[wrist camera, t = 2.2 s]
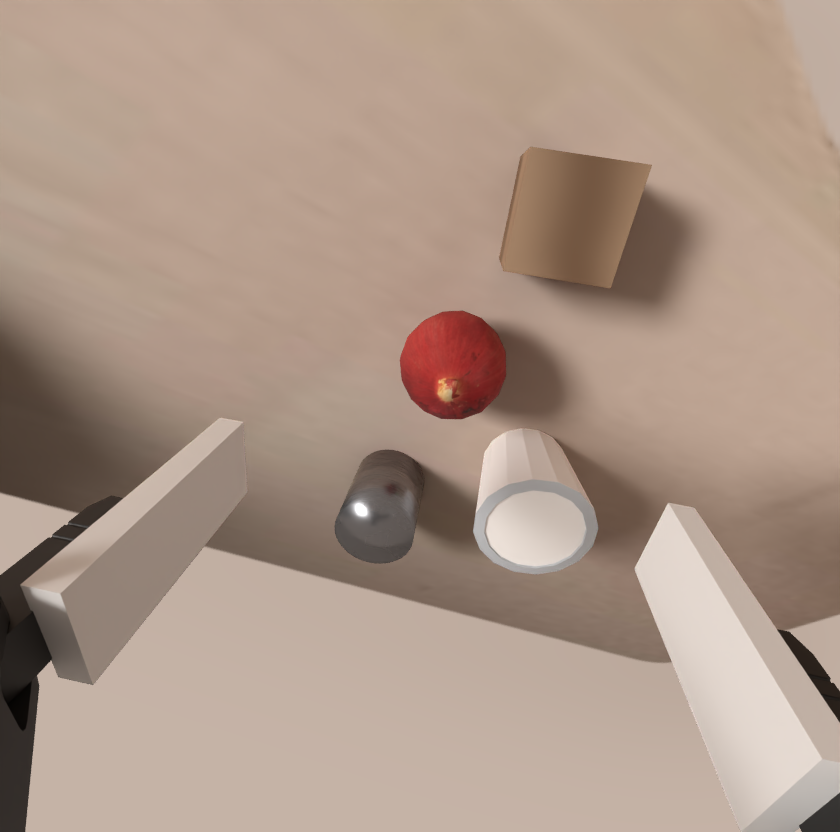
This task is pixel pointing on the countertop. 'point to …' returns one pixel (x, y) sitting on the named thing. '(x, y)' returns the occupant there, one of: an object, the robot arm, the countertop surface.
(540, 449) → the white short cylinder
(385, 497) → the metal tin
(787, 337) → the countertop surface
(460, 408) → the onion
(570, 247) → the walnut block
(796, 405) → the countertop surface
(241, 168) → the countertop surface
